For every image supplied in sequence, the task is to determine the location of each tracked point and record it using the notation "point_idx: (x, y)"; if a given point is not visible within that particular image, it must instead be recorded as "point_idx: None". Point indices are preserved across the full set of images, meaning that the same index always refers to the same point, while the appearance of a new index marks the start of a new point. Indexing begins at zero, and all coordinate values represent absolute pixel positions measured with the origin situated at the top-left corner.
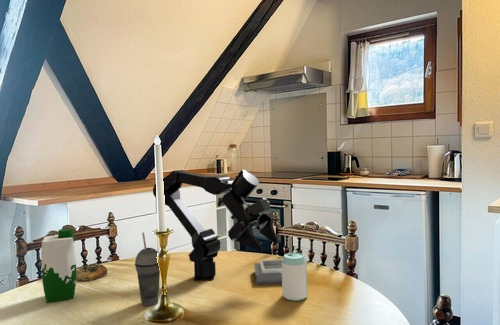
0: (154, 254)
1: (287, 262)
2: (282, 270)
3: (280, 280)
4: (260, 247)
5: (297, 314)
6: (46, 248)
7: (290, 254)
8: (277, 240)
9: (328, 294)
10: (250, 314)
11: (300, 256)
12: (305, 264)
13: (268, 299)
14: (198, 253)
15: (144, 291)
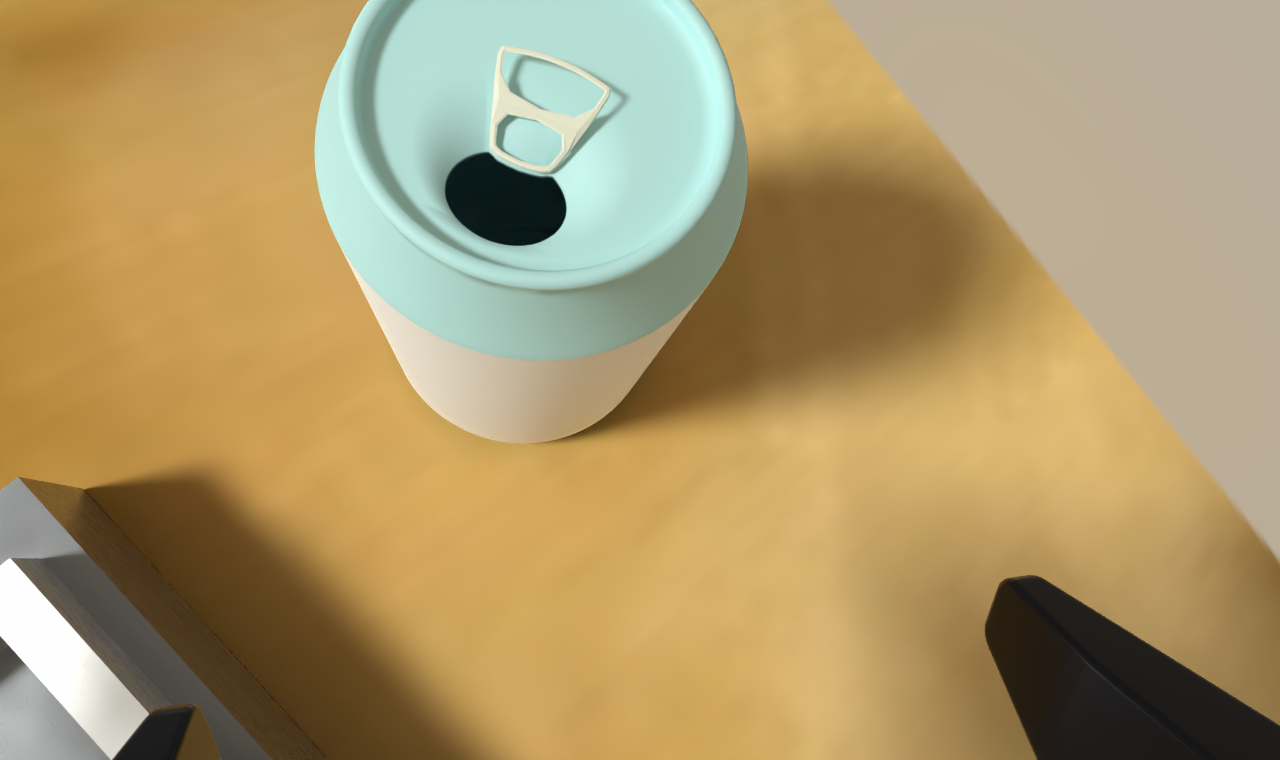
0: None
1: (738, 149)
2: (685, 315)
3: (252, 690)
4: (1101, 615)
5: (812, 126)
6: None
7: (462, 225)
8: (161, 749)
9: (267, 83)
10: (1058, 437)
11: (469, 11)
12: None
13: (730, 504)
14: None
15: None
